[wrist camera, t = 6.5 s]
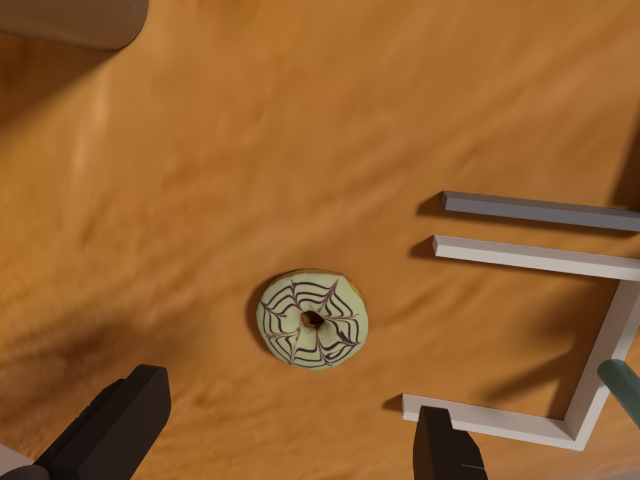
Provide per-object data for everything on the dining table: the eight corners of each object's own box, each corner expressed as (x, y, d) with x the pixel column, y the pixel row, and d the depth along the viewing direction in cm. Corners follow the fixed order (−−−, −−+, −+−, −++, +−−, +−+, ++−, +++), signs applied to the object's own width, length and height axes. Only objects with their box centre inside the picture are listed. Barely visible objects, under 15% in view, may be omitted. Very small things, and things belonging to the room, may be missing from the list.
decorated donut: (382, 339, 38) (383, 364, 35) (288, 360, 41) (279, 385, 37) (349, 249, 35) (345, 265, 32) (249, 278, 38) (235, 296, 34)
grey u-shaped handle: (440, 201, 32) (449, 216, 28) (494, -71, 25) (516, -104, 21) (663, 226, 30) (709, 246, 26) (788, -63, 23) (877, -100, 19)
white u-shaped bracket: (401, 400, 40) (408, 509, 29) (434, 234, 33) (458, 298, 22) (578, 431, 38) (654, 560, 27) (651, 260, 31) (792, 344, 20)
